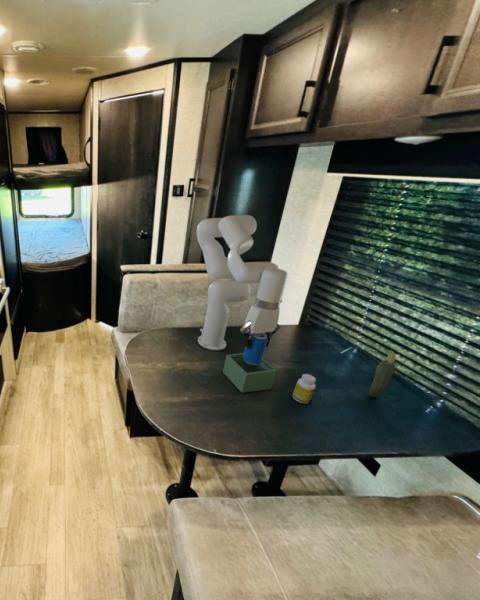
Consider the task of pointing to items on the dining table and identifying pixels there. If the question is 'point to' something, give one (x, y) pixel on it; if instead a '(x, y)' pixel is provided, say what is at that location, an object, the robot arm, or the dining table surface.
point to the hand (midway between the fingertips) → (255, 345)
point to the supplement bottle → (304, 389)
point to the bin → (248, 373)
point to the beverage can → (256, 349)
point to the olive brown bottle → (382, 375)
